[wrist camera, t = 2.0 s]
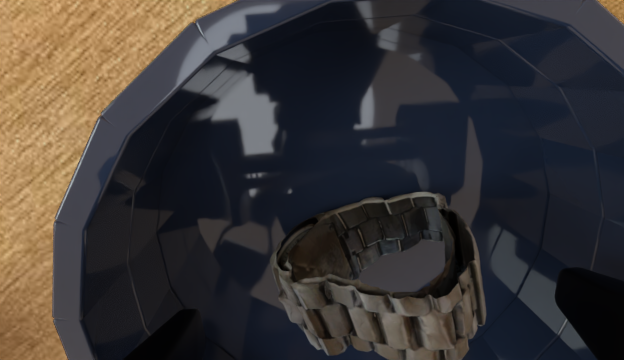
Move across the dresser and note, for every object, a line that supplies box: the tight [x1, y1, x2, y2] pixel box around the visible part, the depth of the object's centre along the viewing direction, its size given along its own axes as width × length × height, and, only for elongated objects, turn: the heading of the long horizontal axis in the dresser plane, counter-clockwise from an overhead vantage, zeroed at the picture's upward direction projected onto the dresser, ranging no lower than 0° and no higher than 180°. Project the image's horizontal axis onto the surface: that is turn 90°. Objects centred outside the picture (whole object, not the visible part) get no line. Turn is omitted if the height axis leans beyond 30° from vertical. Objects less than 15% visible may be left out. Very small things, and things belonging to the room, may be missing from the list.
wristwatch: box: [270, 192, 486, 360], centre depth 9 cm, size 3×5×5 cm
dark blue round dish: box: [52, 0, 624, 360], centre depth 9 cm, size 14×14×4 cm
